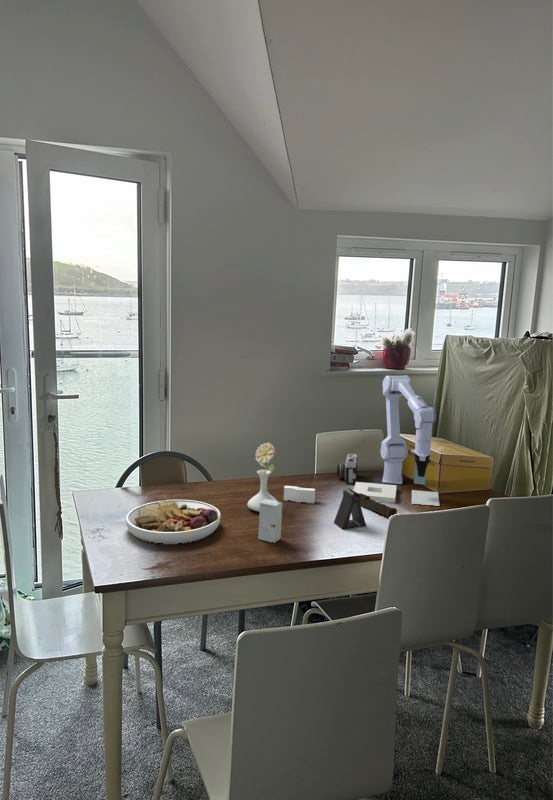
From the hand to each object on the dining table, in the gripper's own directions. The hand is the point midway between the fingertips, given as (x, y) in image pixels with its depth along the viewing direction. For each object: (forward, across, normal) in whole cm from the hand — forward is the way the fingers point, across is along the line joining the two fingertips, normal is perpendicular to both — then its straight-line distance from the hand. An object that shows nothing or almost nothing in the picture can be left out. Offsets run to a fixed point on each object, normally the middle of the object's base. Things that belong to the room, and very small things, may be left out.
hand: (421, 474), depth 230 cm
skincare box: (+10, +53, -46) cm, 71 cm away
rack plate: (+10, 0, -17) cm, 19 cm away
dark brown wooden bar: (+10, +18, -16) cm, 27 cm away
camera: (+10, -17, -29) cm, 35 cm away
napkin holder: (+10, +15, -44) cm, 48 cm away
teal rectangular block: (+3, 0, 0) cm, 3 cm away
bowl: (+10, +53, -78) cm, 95 cm away
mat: (+10, 0, +2) cm, 10 cm away
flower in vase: (+10, +28, -54) cm, 62 cm away
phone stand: (+10, +34, -23) cm, 42 cm away
